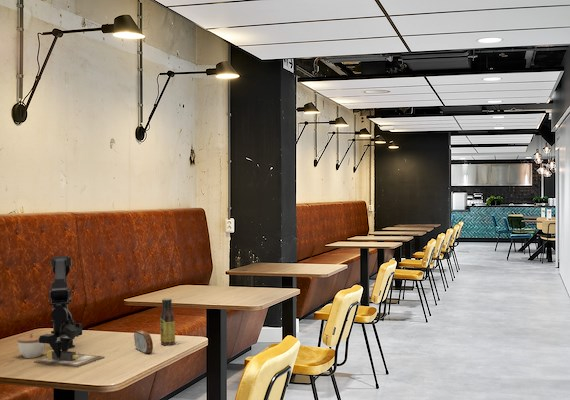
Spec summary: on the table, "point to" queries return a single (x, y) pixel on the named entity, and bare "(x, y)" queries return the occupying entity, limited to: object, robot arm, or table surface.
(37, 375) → the table surface
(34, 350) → the lidded jar
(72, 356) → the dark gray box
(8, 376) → the table surface
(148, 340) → the tin
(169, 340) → the sauce bottle
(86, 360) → the writing board
